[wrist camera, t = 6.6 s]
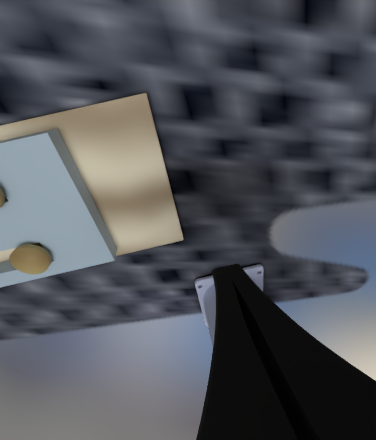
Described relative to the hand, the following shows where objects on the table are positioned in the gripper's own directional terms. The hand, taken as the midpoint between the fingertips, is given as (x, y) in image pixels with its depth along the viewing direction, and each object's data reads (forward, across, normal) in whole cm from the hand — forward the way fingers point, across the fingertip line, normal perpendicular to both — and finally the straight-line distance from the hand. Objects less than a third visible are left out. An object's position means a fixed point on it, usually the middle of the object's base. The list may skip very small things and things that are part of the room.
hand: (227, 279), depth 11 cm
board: (+9, +12, -2) cm, 15 cm away
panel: (+8, +15, -2) cm, 17 cm away
